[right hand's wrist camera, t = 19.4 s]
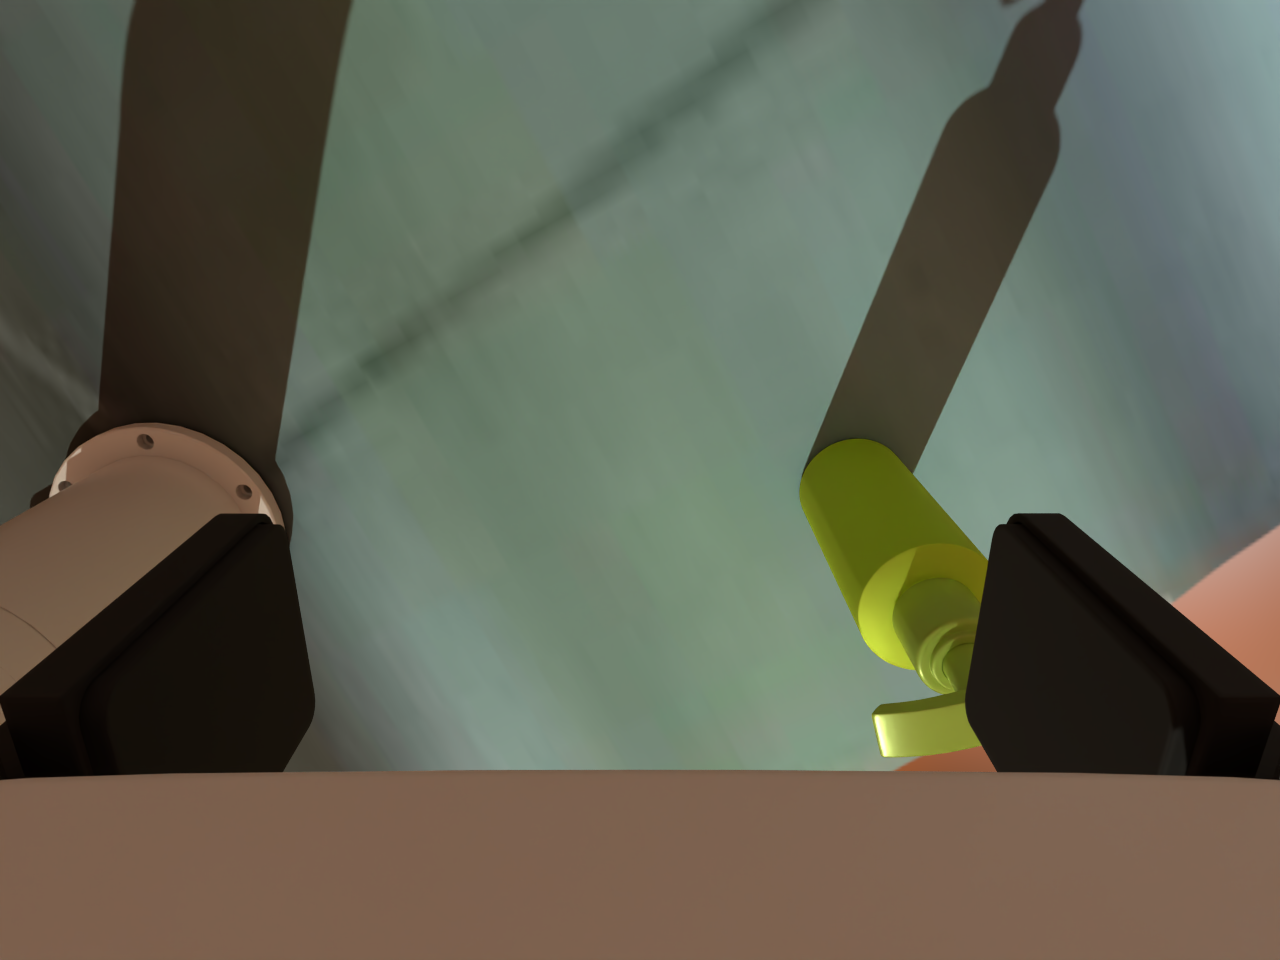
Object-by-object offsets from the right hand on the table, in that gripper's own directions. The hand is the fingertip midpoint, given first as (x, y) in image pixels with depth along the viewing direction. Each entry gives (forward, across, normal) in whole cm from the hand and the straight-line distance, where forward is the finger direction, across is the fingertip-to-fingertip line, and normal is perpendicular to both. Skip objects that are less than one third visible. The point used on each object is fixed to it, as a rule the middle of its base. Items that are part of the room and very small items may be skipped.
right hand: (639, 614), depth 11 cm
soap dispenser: (+33, -11, +11) cm, 36 cm away
